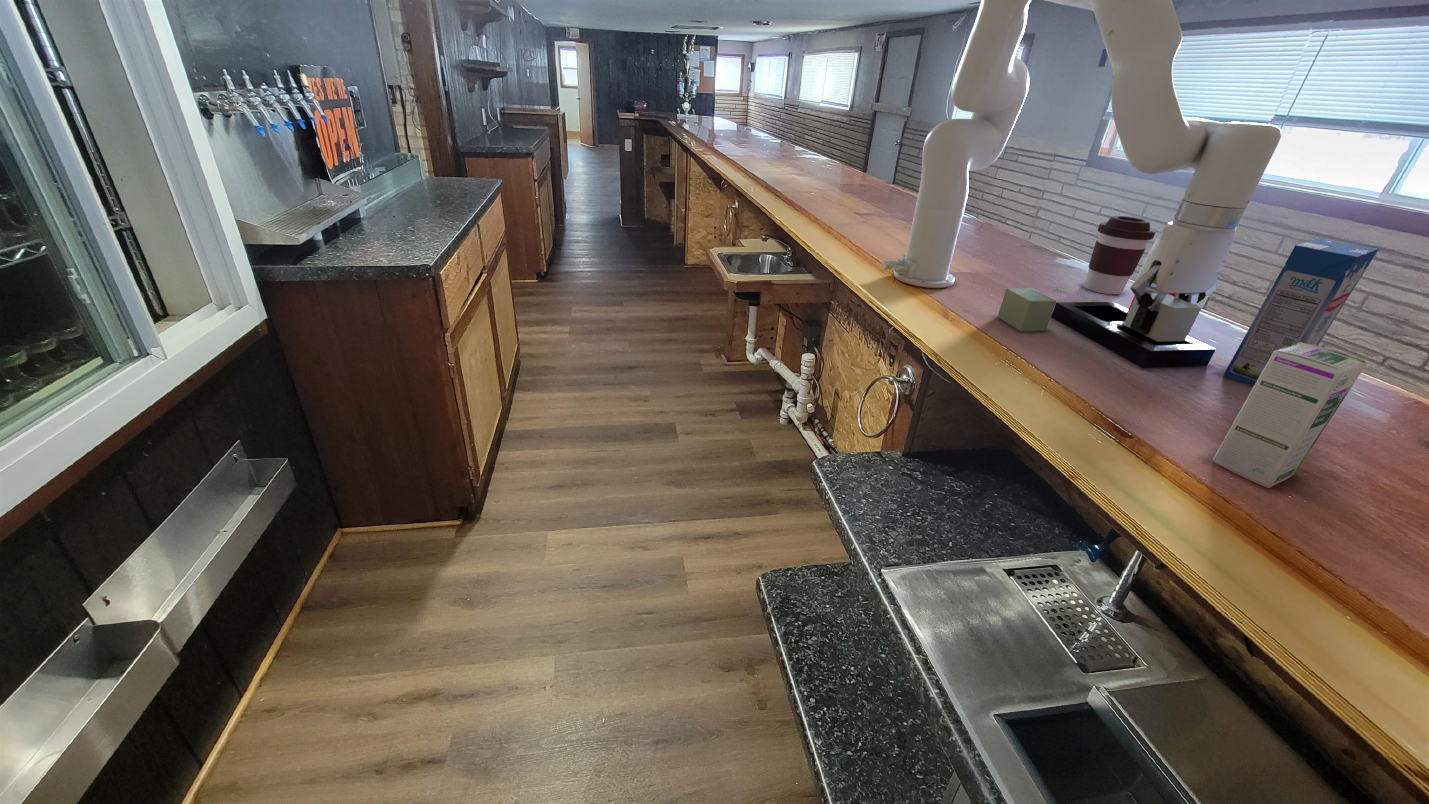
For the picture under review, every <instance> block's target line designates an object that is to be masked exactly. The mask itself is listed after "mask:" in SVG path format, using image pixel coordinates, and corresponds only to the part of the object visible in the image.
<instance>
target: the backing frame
mask: <svg viewBox="0 0 1429 804" xmlns="http://www.w3.org/2000/svg"><path fill="white" fill-rule="evenodd" d="M1129 311H1130V310H1129V308H1128V307H1125V306H1123V305H1120V304H1118V303H1116V302H1115V301H1056V304H1055V307H1054V309H1053V312H1052V315H1051V318H1050V319H1053V320H1055V321H1057V322H1058V323H1060V324H1062V325H1064V326H1065V327H1067V328H1069V329H1071V330H1073V331H1074V332H1076V333H1078V334H1080V335H1081V336H1083V337H1085V338H1087V339H1088V340H1090V341H1093V342H1095V343H1096V344H1098V345H1099V346H1101V347H1103V348H1105V349H1107V350H1109V351H1110V352H1112V353H1114V354H1116V355H1118V356H1119V357H1121V358H1123V359H1125V360H1127V361H1128V362H1130V363H1132V364H1134V365H1136V366H1137V367H1140V368H1141V369H1158V368H1159V369H1161V368H1162V369H1163V368H1164V369H1165V368H1186V367H1187V368H1188V367H1190V368H1191V367H1208V365H1209V364H1210V362H1211V359H1212V358H1213V356H1214V354H1215V352H1216V350H1217V348H1215V347H1213V346H1211V345H1209V344H1206V343H1204V342H1202V341H1199V340H1197V339H1195V338H1193V337H1191V336H1189V335H1188V336H1187V338H1186V340H1185V341H1162V342H1158V341H1156V340H1154V339H1152V338H1149V337H1147V336H1145V335H1143V334H1141V333H1139V332H1137V331H1135V330H1133V329H1131V328H1129V327H1127V326H1125V325H1124V323H1125V320H1126V318H1127V316H1128V313H1129Z"/></svg>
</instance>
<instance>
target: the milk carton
mask: <svg viewBox="0 0 1429 804" xmlns="http://www.w3.org/2000/svg"><path fill="white" fill-rule="evenodd" d="M1379 250H1380V249H1379V248H1376V247H1371V246H1370V247H1369V246H1365V245H1358V244H1353V243H1348V242H1341V241H1336V240H1331V239H1325V238H1316V239H1313V240H1312V239H1311V240H1309V241H1305V242H1301V243H1299V244H1298V243H1297V244H1295V245H1294V247H1293V249H1292V250H1291V252H1290V254H1289V256H1288V257H1287V260H1286V261H1285V262H1284V265H1283V267H1282V268H1281V270H1280V272H1279V274H1278V275H1277V278H1276V279H1275V281H1274V282H1273V284H1272V287H1271V288H1270V290H1269V292H1268V294H1267V295H1266V297H1265V299H1264V301H1263V303H1262V304H1261V306H1260V308H1259V309H1258V312H1257V314H1256V315H1255V317H1254V319H1253V321H1252V323H1251V324H1250V326H1249V328H1248V330H1247V331H1246V333H1245V335H1244V337H1243V338H1242V340H1241V342H1240V343H1239V346H1238V348H1237V349H1236V352H1235V353H1234V355H1233V357H1232V358H1231V360H1230V362H1229V364H1228V366H1227V367H1226V369H1225V371H1224V373H1223V375H1222V376H1223V377H1226V378H1229V379H1232V380H1235V381H1237V382H1240V383H1244V384H1246V385H1249V386H1252V387H1254V385H1255V383H1256V382H1257V380H1258V378H1259V376H1260V375H1261V373H1262V371H1263V369H1264V368H1265V366H1266V364H1267V362H1268V361H1269V359H1270V357H1271V355H1272V353H1273V351H1276V350H1279V349H1282V348H1285V347H1288V346H1293V345H1295V344H1297V343H1299V342H1302V343H1306V344H1310V345H1315V346H1319V345H1320V344H1321V341H1323V339H1324V337H1325V336H1326V334H1327V332H1328V331H1329V330H1330V328H1331V326H1332V324H1333V323H1334V321H1335V319H1336V318H1337V316H1338V315H1339V314H1340V312H1341V310H1342V309H1343V307H1344V305H1345V304H1346V302H1347V301H1348V299H1349V297H1350V296H1351V294H1352V292H1353V291H1354V289H1355V288H1356V286H1357V285H1358V283H1359V281H1360V280H1361V278H1362V277H1363V275H1364V273H1366V270H1367V269H1368V267H1369V266H1370V264H1371V262H1372V261H1373V259H1374V258H1375V257H1376V255H1377V253H1378V251H1379Z"/></svg>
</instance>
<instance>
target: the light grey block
mask: <svg viewBox="0 0 1429 804" xmlns="http://www.w3.org/2000/svg"><path fill="white" fill-rule="evenodd" d="M1156 295H1157V293H1153V294H1152V295H1151V297H1152V299H1154V297H1155V296H1156ZM1138 307H1139V305H1137V299H1136V297H1135V300H1134V302H1133V304H1132V307H1131V309H1130V311H1129V313H1128V316H1127V318H1126V320H1125V323H1124V325H1125V326H1127V327H1129V328H1130V325H1131V323H1132V321H1133V318H1134V316H1135V314H1136V312H1137V309H1138ZM1201 310H1202V306H1198V305H1194V304H1191V303H1189V302H1186V301H1184V300H1181V299H1179V298H1176V297H1174V296H1171V295H1169V294H1167V295H1166V297H1165V298H1164V299H1163V301H1162V302H1161V303H1160V305H1159V306H1158V308H1157V309H1156V311H1158V314H1157V316H1156V319H1155V321H1154V323H1153V325H1152V327H1151V329H1150V331H1149V333H1148V334H1147V335H1145V336H1147V337H1149V338H1152V339H1154V340H1156V341H1158V342H1162V341H1185V340H1186V338H1187V336H1189V334H1190V332H1191V330H1192V328H1193V327H1194V324H1195V321H1196V320H1197V318H1198V317H1199V314H1200V312H1201Z"/></svg>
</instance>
